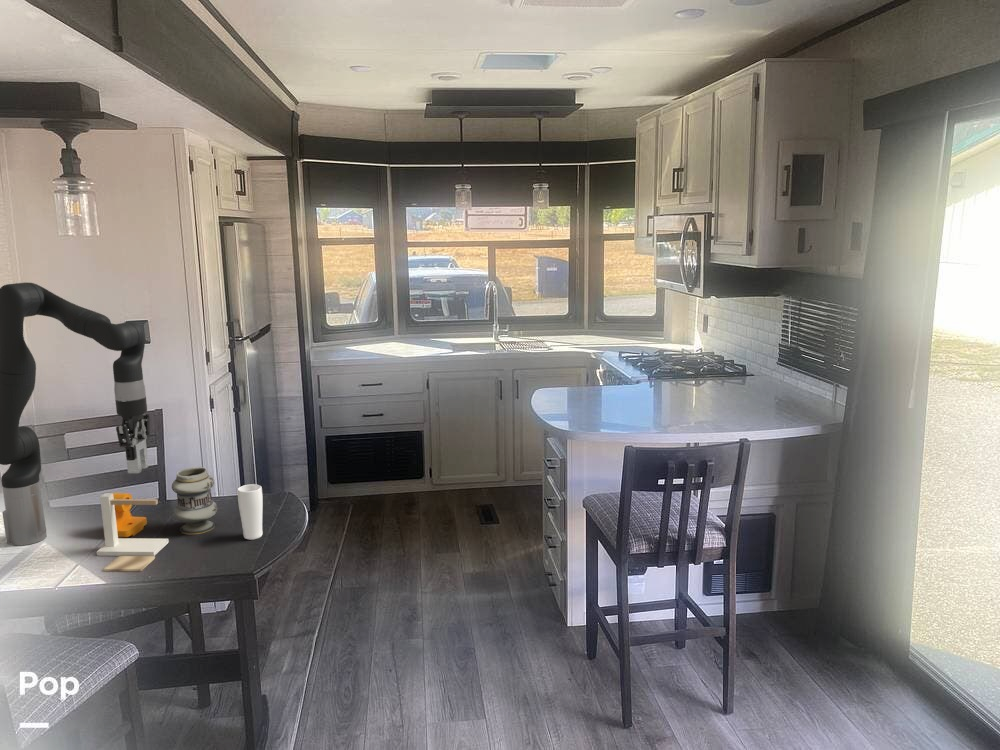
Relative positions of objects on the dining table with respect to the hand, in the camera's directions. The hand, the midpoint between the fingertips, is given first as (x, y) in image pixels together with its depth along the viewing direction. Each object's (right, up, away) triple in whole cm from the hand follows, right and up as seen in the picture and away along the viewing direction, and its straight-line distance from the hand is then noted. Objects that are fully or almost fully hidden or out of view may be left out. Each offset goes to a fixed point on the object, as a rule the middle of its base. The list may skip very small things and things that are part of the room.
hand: (136, 456), depth 211 cm
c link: (0, -4, +1) cm, 4 cm away
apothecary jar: (+9, -24, +21) cm, 33 cm away
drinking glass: (+27, -25, +14) cm, 40 cm away
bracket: (-11, -25, +18) cm, 33 cm away
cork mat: (0, -29, -4) cm, 29 cm away
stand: (-4, -27, +6) cm, 28 cm away
